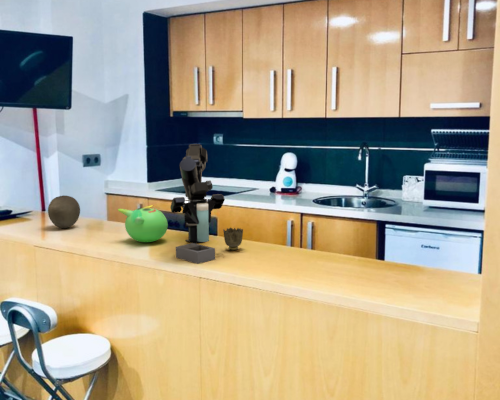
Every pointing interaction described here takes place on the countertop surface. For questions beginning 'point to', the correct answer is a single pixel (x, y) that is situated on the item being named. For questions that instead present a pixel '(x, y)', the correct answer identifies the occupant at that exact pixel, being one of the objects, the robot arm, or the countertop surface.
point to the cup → (233, 238)
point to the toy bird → (145, 224)
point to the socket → (195, 253)
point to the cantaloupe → (64, 211)
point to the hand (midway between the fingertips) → (204, 222)
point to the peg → (202, 222)
